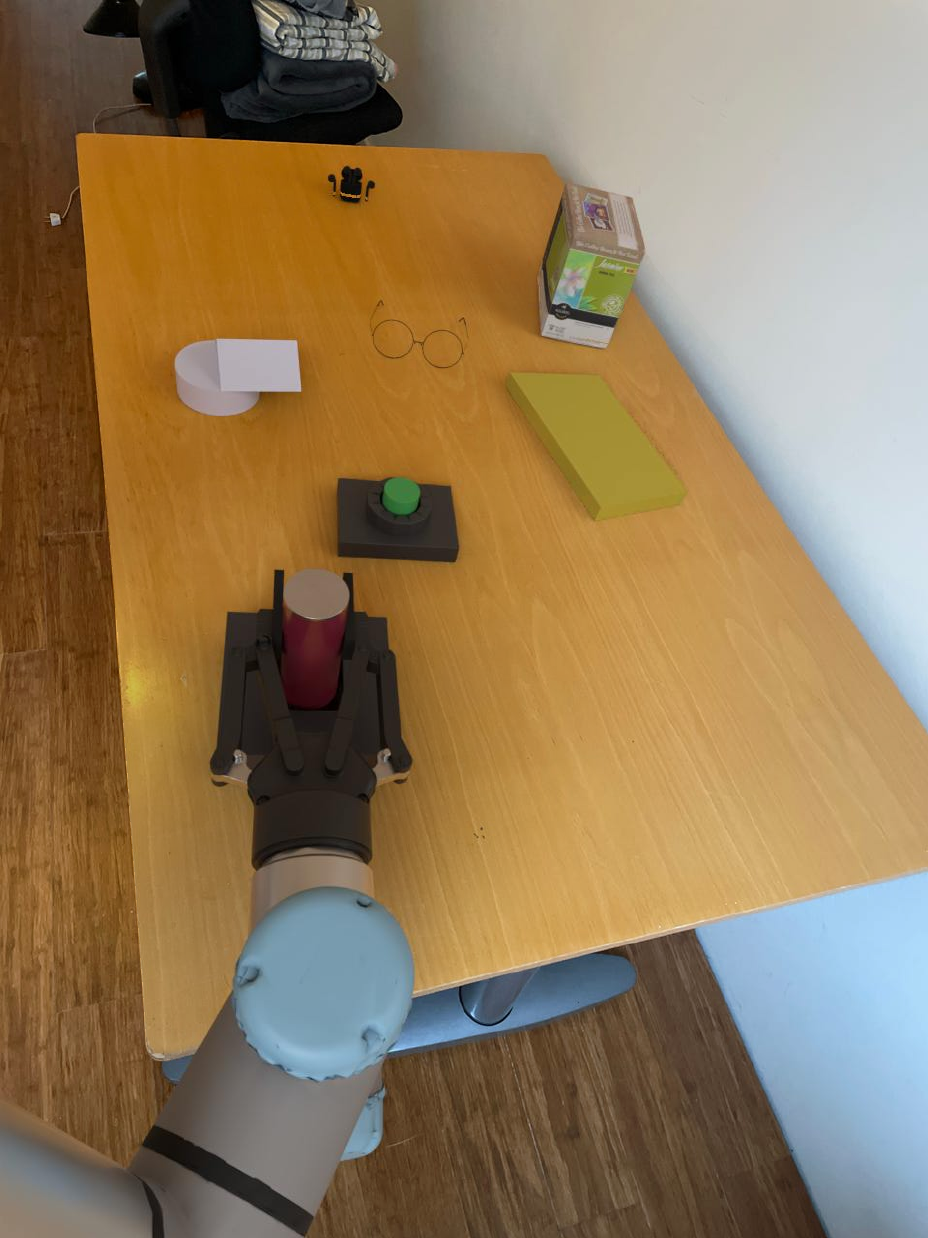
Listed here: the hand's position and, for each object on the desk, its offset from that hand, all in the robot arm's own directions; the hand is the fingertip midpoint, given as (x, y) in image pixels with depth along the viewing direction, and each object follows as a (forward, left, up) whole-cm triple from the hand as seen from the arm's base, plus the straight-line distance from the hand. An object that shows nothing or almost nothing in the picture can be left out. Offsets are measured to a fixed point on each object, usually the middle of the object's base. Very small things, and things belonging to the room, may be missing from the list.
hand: (313, 582), depth 65 cm
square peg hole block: (0, -5, -11) cm, 12 cm away
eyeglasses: (+14, +51, -11) cm, 54 cm away
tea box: (+37, +61, -11) cm, 72 cm away
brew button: (+9, +17, -7) cm, 20 cm away
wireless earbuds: (+6, +85, -11) cm, 86 cm away
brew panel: (+9, +17, -11) cm, 22 cm away
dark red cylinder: (0, -5, -7) cm, 9 cm away
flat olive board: (+34, +33, -11) cm, 48 cm away
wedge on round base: (-8, +37, -11) cm, 39 cm away
